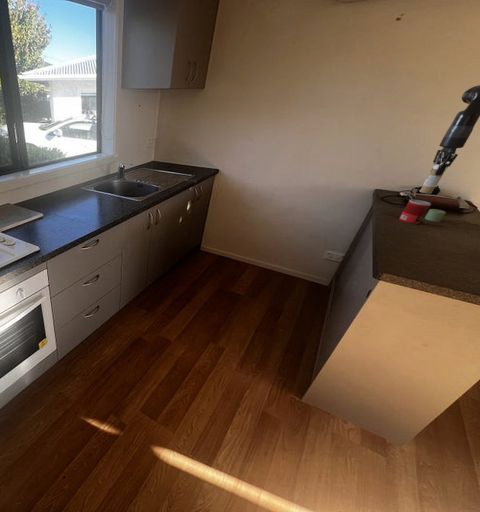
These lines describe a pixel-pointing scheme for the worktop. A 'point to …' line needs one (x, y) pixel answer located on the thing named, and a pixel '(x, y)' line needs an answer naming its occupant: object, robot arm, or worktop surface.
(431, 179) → the sprinkles bottle
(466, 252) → the worktop surface
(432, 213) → the green rounded block
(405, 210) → the canned food
